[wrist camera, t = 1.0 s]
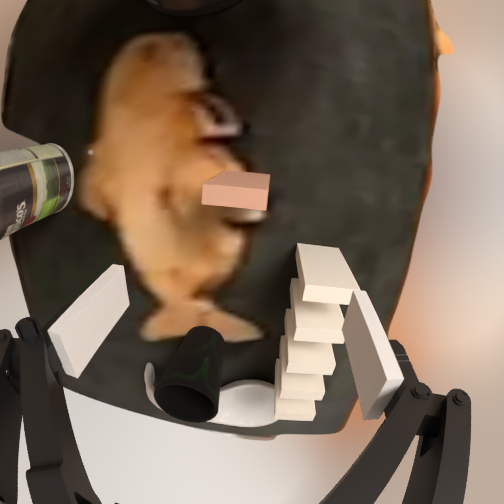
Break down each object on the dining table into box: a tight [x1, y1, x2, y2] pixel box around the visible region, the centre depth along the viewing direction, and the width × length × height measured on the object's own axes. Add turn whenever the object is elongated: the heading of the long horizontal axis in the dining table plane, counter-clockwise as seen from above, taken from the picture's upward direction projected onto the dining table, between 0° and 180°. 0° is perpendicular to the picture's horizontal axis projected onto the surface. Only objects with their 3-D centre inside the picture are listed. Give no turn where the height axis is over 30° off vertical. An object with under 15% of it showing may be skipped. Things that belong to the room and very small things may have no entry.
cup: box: [153, 326, 224, 423], centre depth 34 cm, size 8×8×12 cm
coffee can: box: [0, 143, 74, 240], centre depth 26 cm, size 10×10×14 cm
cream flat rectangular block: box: [274, 359, 316, 421], centre depth 36 cm, size 2×5×10 cm, turn 85°
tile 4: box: [279, 335, 325, 400], centre depth 34 cm, size 2×5×10 cm, turn 85°
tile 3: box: [284, 309, 336, 375], centre depth 32 cm, size 2×5×10 cm, turn 85°
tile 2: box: [290, 278, 344, 344], centre depth 31 cm, size 2×5×10 cm, turn 85°
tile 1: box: [295, 243, 360, 305], centre depth 29 cm, size 2×5×10 cm, turn 85°
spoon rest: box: [144, 363, 279, 427], centre depth 40 cm, size 24×12×7 cm, turn 82°
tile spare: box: [202, 170, 270, 211], centre depth 26 cm, size 2×5×10 cm, turn 85°
